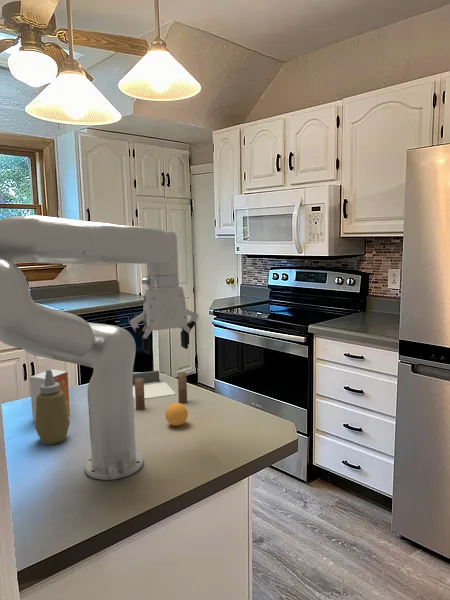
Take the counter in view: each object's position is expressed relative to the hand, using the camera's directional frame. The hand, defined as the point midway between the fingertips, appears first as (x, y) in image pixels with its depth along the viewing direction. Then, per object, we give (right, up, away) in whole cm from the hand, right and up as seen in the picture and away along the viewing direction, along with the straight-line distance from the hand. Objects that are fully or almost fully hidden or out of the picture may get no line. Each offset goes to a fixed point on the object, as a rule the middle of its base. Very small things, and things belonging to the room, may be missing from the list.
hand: (166, 350), depth 114 cm
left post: (-10, -20, +22) cm, 31 cm away
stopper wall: (-13, -16, +46) cm, 51 cm away
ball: (+2, -18, +9) cm, 20 cm away
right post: (+2, -19, +26) cm, 32 cm away
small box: (-34, -21, +15) cm, 43 cm away
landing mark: (-10, -17, +37) cm, 42 cm away
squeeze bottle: (-29, -23, +2) cm, 37 cm away
